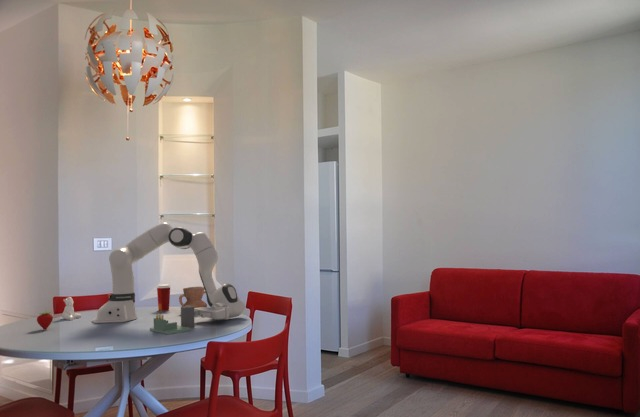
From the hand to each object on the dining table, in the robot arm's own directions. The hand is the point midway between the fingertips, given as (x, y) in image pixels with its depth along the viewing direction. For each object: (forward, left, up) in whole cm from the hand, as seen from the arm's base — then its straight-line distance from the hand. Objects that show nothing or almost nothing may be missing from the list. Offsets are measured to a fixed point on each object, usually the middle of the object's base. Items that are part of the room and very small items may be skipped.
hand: (196, 314), depth 267 cm
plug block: (-5, -3, -5) cm, 7 cm away
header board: (-13, -8, -5) cm, 16 cm away
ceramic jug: (+3, +44, -6) cm, 45 cm away
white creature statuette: (-63, +48, -6) cm, 80 cm away
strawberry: (-71, +19, -6) cm, 74 cm away
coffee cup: (-13, +58, -6) cm, 60 cm away
